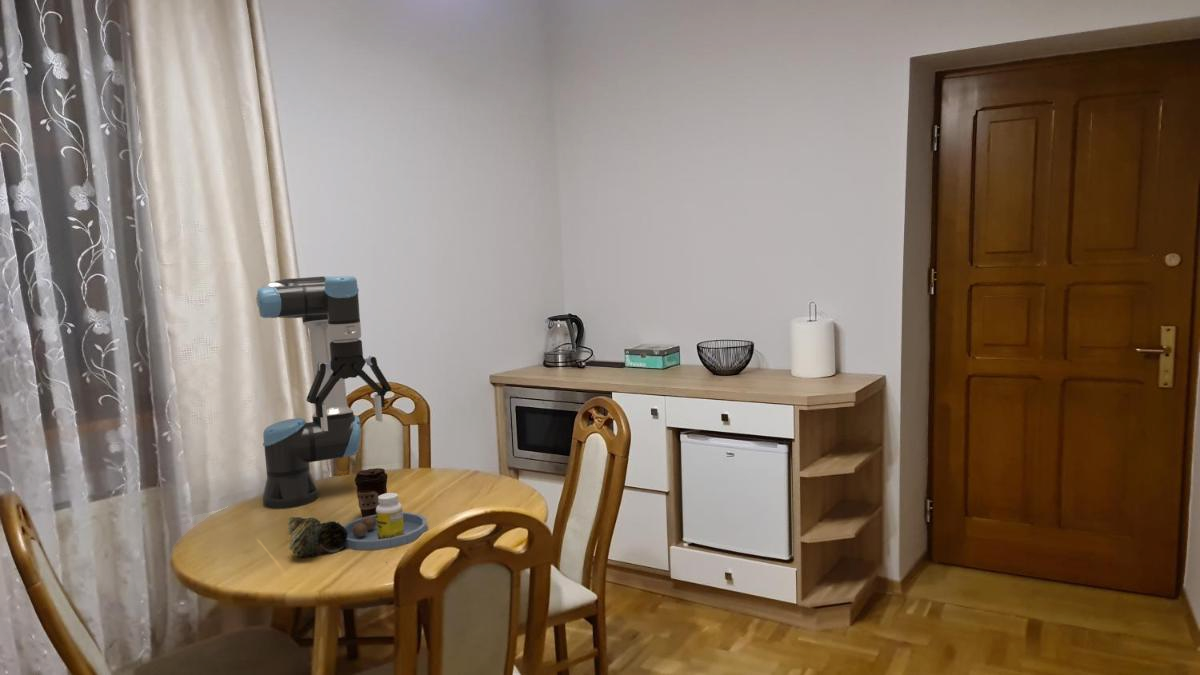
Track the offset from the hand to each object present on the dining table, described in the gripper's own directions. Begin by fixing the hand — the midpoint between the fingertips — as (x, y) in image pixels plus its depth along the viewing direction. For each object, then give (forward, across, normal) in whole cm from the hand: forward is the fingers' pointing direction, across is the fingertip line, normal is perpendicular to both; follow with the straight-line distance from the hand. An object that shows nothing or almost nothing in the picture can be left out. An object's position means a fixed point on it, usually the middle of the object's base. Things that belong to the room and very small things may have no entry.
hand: (352, 425), depth 196 cm
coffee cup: (+29, +7, +9) cm, 31 cm away
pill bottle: (+27, +3, -12) cm, 30 cm away
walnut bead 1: (+27, -2, -4) cm, 27 cm away
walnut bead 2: (+27, +2, -1) cm, 27 cm away
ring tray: (+28, +4, -6) cm, 29 cm away
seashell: (+28, -13, -8) cm, 32 cm away
